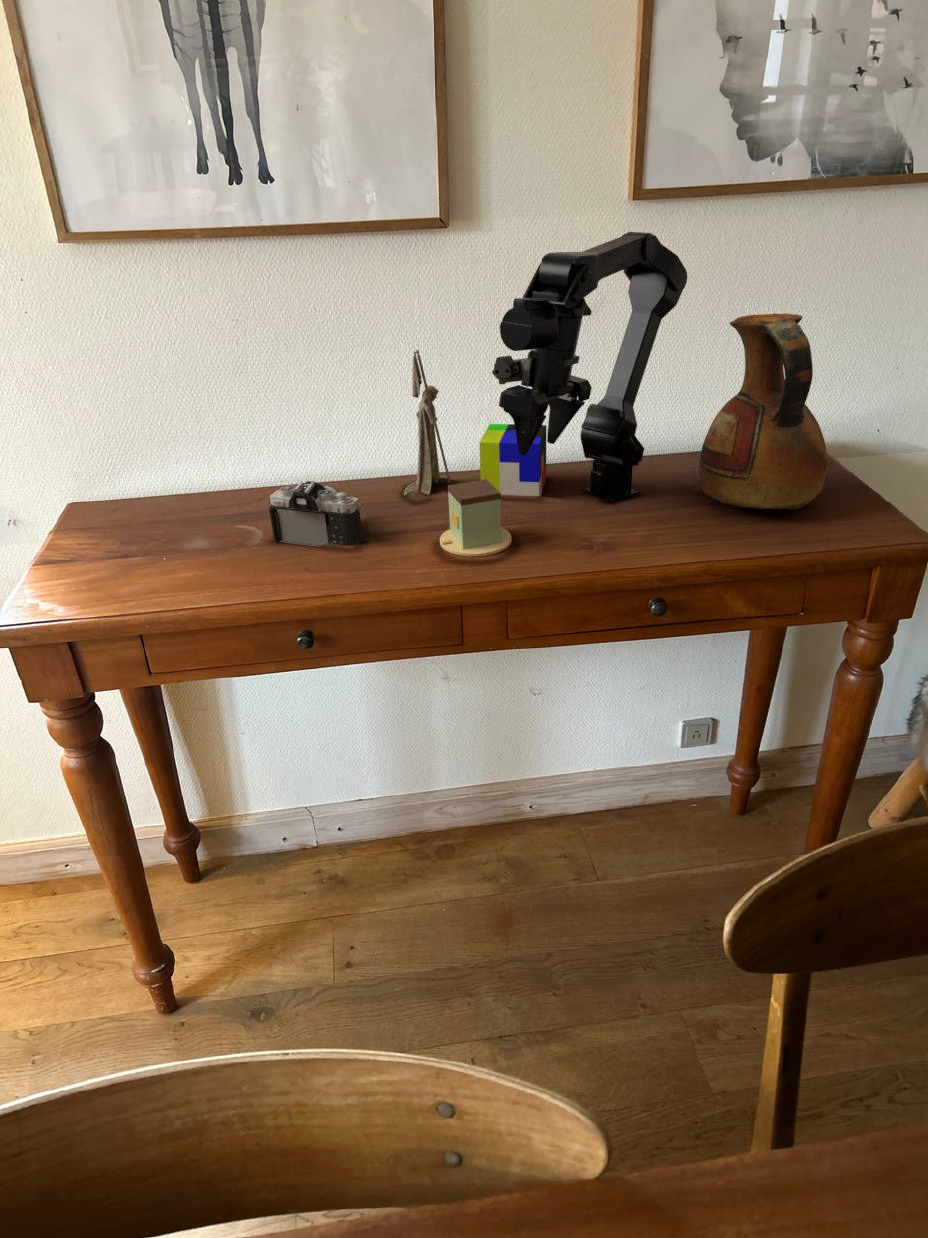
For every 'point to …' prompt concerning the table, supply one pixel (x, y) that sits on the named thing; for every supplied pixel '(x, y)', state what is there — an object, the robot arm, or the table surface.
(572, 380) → the robot arm
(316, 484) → the camera
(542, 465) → the puzzle toy
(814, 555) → the table surface
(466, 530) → the box
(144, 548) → the table surface
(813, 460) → the ceramic pitcher
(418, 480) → the wizard figurine
